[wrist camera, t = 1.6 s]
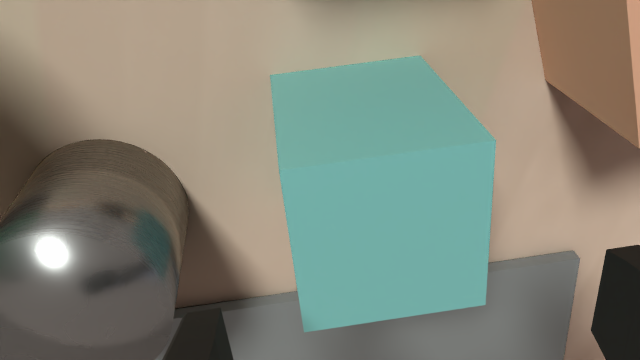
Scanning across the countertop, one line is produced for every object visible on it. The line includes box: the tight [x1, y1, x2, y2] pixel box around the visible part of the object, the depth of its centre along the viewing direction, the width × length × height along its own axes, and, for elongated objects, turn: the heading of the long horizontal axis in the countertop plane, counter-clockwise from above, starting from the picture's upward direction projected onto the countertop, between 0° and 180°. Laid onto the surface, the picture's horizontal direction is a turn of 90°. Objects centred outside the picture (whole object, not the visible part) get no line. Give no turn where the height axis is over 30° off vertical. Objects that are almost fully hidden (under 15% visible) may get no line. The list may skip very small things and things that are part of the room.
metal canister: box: [0, 139, 189, 360], centre depth 16 cm, size 5×5×5 cm
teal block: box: [270, 56, 496, 332], centre depth 15 cm, size 4×4×6 cm
